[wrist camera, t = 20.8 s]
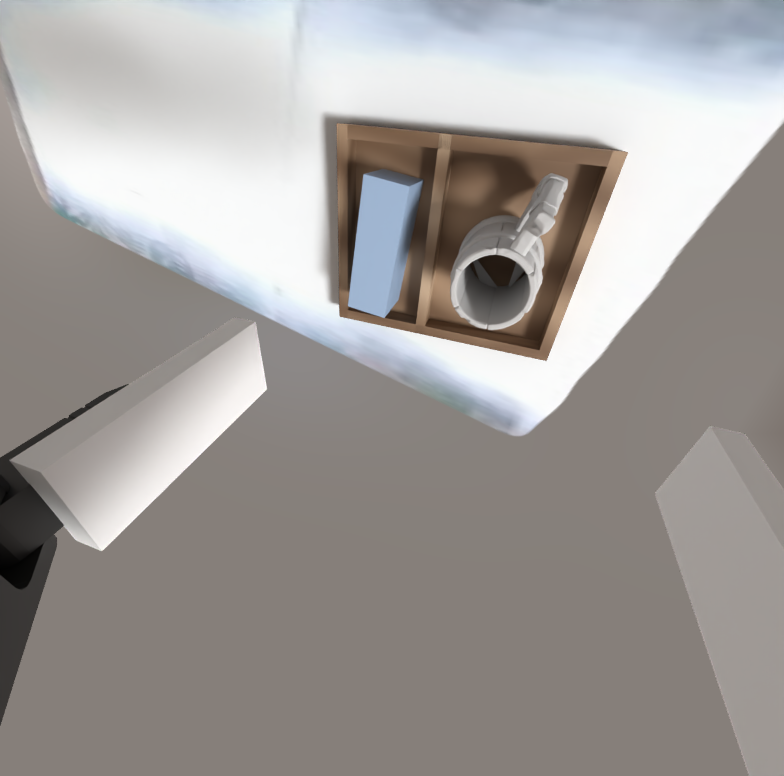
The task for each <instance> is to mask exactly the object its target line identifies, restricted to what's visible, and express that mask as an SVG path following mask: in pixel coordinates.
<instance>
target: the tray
mask: <svg viewBox="0 0 784 776" xmlns="http://www.w3.org/2000/svg"><path fill="white" fill-rule="evenodd" d="M627 154H628V152H625V151H619V150H609V149H599V148H589V147H579V146H569V145H559V144H549V143H538V142H528V141H518V140H508V139H498V138H488V137H478V136H468V135H458V134H447V133H437V132H427V131H417V130H407V129H397V128H387V127H377V126H367V125H357V124H341V123H337V181H338V246H339V311H340V317H344V318H349V319H354V320H358V321H363V322H368V323H372V324H377V325H382V326H386V327H391V328H396V329H400V330H405V331H410V332H414V333H419V334H424V335H428V336H433V337H438V338H442V339H447V340H452V341H456V342H461V343H466V344H470V345H475V346H480V347H484V348H489V349H493V350H498V351H503V352H507V353H512V354H517V355H521V356H526V357H531V358H535V359H540V360H545V361H547V358H548V356H549V353H550V350H551V348H552V345H553V343H554V340H555V338H556V335H557V333H558V330H559V327H560V325H561V322H562V320H563V317H564V315H565V312H566V310H567V307H568V304H569V302H570V299H571V297H572V294H573V292H574V289H575V287H576V284H577V281H578V279H579V276H580V274H581V271H582V269H583V266H584V264H585V261H586V258H587V256H588V253H589V251H590V248H591V246H592V243H593V241H594V238H595V235H596V233H597V230H598V228H599V225H600V223H601V220H602V218H603V215H604V212H605V210H606V207H607V205H608V202H609V200H610V197H611V194H612V192H613V189H614V187H615V184H616V182H617V179H618V177H619V174H620V171H621V169H622V166H623V164H624V161H625V159H626V156H627ZM380 169H386V170H390V171H393V172H397V173H401V174H405V175H408V176H412V177H416V178H419V179H423V180H424V182H423V187H422V192H421V196H420V201H419V206H418V210H417V215H416V220H415V224H414V229H413V234H412V239H411V243H410V248H409V253H408V257H407V262H406V267H405V271H404V276H403V281H402V286H401V290H400V295H399V300H398V301H397V302H396V304H395V305H394V306H393V307H392V309H391V310H390V311H389V313H388V314H387V315H386V316H385V318H383V317H379V316H376V315H373V314H370V313H367V312H364V311H361V310H358V309H355V308H352V307H349V306H348V301H349V292H350V284H351V276H352V267H353V259H354V251H355V242H356V234H357V225H358V217H359V209H360V200H361V192H362V184H363V175H364V174H366V173H369V172H373V171H377V170H380ZM550 173H553V174H556V175H559V176H562V177H565V178H567V179H568V186H567V189H566V191H565V192H564V194H563V195H564V197H563V200H562V202H561V203H560V206H559V209H558V212H557V214H556V216H555V215H554V219H555V224H554V225H553V227H552V228H551V229H550V230H549V231H548V232H547V233H546V234H543V235H541V236H540V237H541V240H542V243H543V247H544V266H543V268H542V276H543V279H542V284H541V285H540V288H539V290H538V292H537V294H536V297H535V300H534V303H533V305H532V307H531V308H530V310H529V311H528V312H527V313H524V316H523V317H522V318H521V319H520V320H519V321H518V322H516V323H515V324H513V325H511V326H509V327H506V328H502V329H497V330H488V329H483V328H478V327H476V326H474V325H472V324H470V323H469V322H468V321H467V320H466V319H465V318H461V317H460V316H459V314H458V313H457V312H456V310H455V307H453V305H452V302H451V297H450V285H451V277H450V275H451V271H452V269H453V265H454V263H455V260H456V258H457V256H458V254H459V249H460V246H461V244H462V242H463V240H464V238H465V237H466V235H467V234H468V233H469V231H470V230H471V229H472V228H473V227H475V226H476V225H477V224H478V223H480V222H481V221H482V220H484V219H488V218H490V217H493V216H498V215H511V216H516V217H519V218H521V216H522V214H523V213H524V211H525V209H526V208H527V206H528V204H529V202H530V201H531V197H532V195H533V193H534V191H535V189H536V187H537V186H538V184H539V183H540V181H541V180H542V179H543V178H544V177H545V176H547V175H548V174H550ZM477 260H478V261H479V262H480V264H481V265H482V267H483V268H484V269H485V271H486V272H487V273H488V275H489V276H490V277H491V279H492V280H493V282H494V283H495V284H496V286H507V285H509V283H510V280H511V277H512V274H513V271H514V268H515V265H516V262H515V261H514V260H512V259H510V258H508V257H505V256H501V255H497V254H495V255H488V256H484V257H481V258H479V259H477ZM470 266H471V269H472V271H473V272H474V274H475V276H476V277H477V278H478V275H477V272H476V269H475V266H474V263H473V262H471V263H470ZM524 274H526V272H525V271H524V272H523V273H522V274H521V275H520V277H519V278H518V279H517V280H516V281H518V280H519V279H521V278H522V277H523V276H524ZM478 279H479V278H478ZM516 281H515V282H516ZM515 282H514V283H515Z"/></svg>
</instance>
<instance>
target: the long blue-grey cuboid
mask: <svg viewBox="0 0 784 776" xmlns="http://www.w3.org/2000/svg"><path fill="white" fill-rule="evenodd" d="M423 182H424V180H423V179H419V178H416V177H412V176H408V175H405V174H401V173H397V172H393V171H390V170H386V169H380V170H377V171H373V172H369V173H366V174H364V175H363V184H362V192H361V200H360V209H359V217H358V225H357V234H356V242H355V251H354V259H353V267H352V276H351V284H350V292H349V301H348V306H349V307H352V308H355V309H358V310H361V311H364V312H367V313H370V314H373V315H376V316H379V317H383V318H385V316H386V315H387V314H388V313H389V311H390V310H391V309H392V307H393V306H394V305H395V304H396V302H397V301H398V300H399V295H400V290H401V286H402V281H403V276H404V271H405V267H406V262H407V257H408V253H409V248H410V243H411V239H412V234H413V229H414V224H415V220H416V215H417V210H418V206H419V201H420V196H421V192H422V187H423Z"/></svg>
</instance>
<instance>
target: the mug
mask: <svg viewBox="0 0 784 776" xmlns="http://www.w3.org/2000/svg"><path fill="white" fill-rule="evenodd" d="M567 186H568V179H567V178H565V177H562V176H559V175H556V174H553V173H550V174H548V175H547V176H545V177H544V178H543V179H542V180H541V181H540V183H539V184H538V186H537V187H536V189H535V191H534V193H533V195H532V197H531V201H530V202H529V204H528V206H527V208H526V209H525V211H524V213H523V214H522V216H521V218H519V217H516V216H511V215H498V216H493V217H490V218H488V219H484V220H482V221H481V222H480V223H478V224H477V225H476V226H475V227H473V228H472V229H471V230H470V231H469V233H468V234H467V235H466V237H465V238H464V240H463V242H462V244H461V246H460V249H459V254H458V256H457V258H456V260H455V263H454V265H453V269H452V271H451V275H450V277H451V285H450V297H451V302H452V305H453V307H455V310H456V312H457V313H458V314H459V316H460V317H461V318H465V319H466V320H467V321H468V322H469V323H470V324H472V325H474V326H476V327H478V328H483V329H488V330H497V329H502V328H506V327H509V326H511V325H513V324H515V323H516V322H518V321H519V320H520V319H521V318H522V317H523V316H524V313H527V312H528V311H529V310H530V308H531V307H532V305H533V303H534V300H535V297H536V294H537V292H538V290H539V288H540V285H541V284H542V279H543V276H542V268H543V266H544V247H543V243H542V240H541V237H540V236H541V235H543V234H546V233H547V232H548V231H549V230H550V229H551V228H552V227H553V225H554V224H555V219H554V215H555V216H556V214H557V212H558V209H559V206H560V203H561V202H562V200H563V197H564V195H563V194H564V192H565V191H566V189H567ZM495 254H497V255H501V256H505V257H508V258H510V259H512V260H514V261H515V262H516V265H515V268H514V271H513V274H512V277H511V280H510V283H509V285H507V286H496V284H495V283H494V282H493V280H492V279H491V277H490V276H489V275H488V273H487V272H486V271H485V269H484V268H483V267H482V265H481V264H480V262H479V261H478V260H477V259H479V258H481V257H484V256H488V255H495ZM471 262H473V263H474V266H475V269H476V272H477V275H478V278H479V279H478V278H477V277H476V276H475V274H474V272H473V271H472V269H471V266H470V263H471ZM524 271H525V272H526V274H524V276H523V277H522V278H521V279H519V280H518V281H516V280H517V279H518V278H519V277H520V275H521V274H522V273H523V272H524ZM515 281H516V282H515ZM514 282H515V283H514Z"/></svg>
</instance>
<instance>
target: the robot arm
mask: <svg viewBox="0 0 784 776" xmlns="http://www.w3.org/2000/svg"><path fill="white" fill-rule="evenodd" d="M266 389H267V387H266V380H265V375H264V369H263V363H262V357H261V352H260V345H259V339H258V333H257V327H256V322H255V321H250V320H246V319H242V318H237V317H235V318H233V319H231V320H230V321H228V322H227V323H225V324H223V325H222V326H220V327H219V328H217V329H215V330H214V331H212V332H211V333H209V334H208V335H206V336H205V337H203V338H201V339H200V340H198V341H197V342H195V343H193V344H192V345H190V346H189V347H187V348H186V349H184V350H183V351H181V352H179V353H178V354H176V355H175V356H173V357H171V358H170V359H168V360H167V361H165V362H164V363H162V364H160V365H159V366H157V367H156V368H154V369H152V370H151V371H149V372H148V373H146V374H145V375H143V376H141V377H140V378H138V379H137V380H135V381H134V382H132V383H131V384H127V385H125V386H122V387H119V388H117V389H114V390H111V391H109V392H106V393H104V394H103V395H101V396H99V397H98V398H96V399H94V400H93V401H91V402H90V403H88V404H86V405H85V408H80V409H78V410H77V411H75V412H73V413H72V414H71V415H69V417H68V418H67V419H66V418H64V419H62V420H60V421H59V422H57V423H56V424H54V425H53V426H51V427H49V428H48V429H46V430H44V431H43V432H41V433H40V434H38V435H36V436H35V437H33V438H31V439H30V440H28V441H27V442H25V443H23V444H22V445H20V446H18V447H17V448H16V449H14V450H12V451H10V452H9V453H7V454H6V455H4V456H2V457H1V458H0V725H1V722H2V718H3V715H4V712H5V709H6V706H7V703H8V699H9V696H10V693H11V690H12V687H13V684H14V680H15V677H16V674H17V671H18V667H19V665H20V661H21V658H22V655H23V652H24V649H25V645H26V642H27V639H28V636H29V633H30V630H31V627H32V623H33V620H34V617H35V614H36V610H37V608H38V604H39V601H40V598H41V595H42V592H43V589H44V585H45V582H46V579H47V576H48V573H49V569H50V566H51V563H52V560H53V557H54V554H55V551H56V547H57V538H56V537H55V535H54V534H55V533H56V532H57V531H58V530H59V529H61V528H62V527H63V526H65V528H66V529H67V530H68V531H69V533H70V534H71V535H72V536H73V538H74V539H75V540H76V541H79V542H81V543H83V544H86V545H89V546H91V547H93V548H96V549H98V550H100V551H102V550H103V549H105V547H106V546H108V545H109V544H110V543H111V542H112V541H113V540H114V539H115V538H116V537H117V536H118V535H119V534H120V533H121V532H122V531H123V530H124V529H125V528H126V527H127V526H128V525H129V524H130V523H131V522H132V521H133V520H134V519H135V518H136V517H137V516H138V515H139V514H140V513H141V512H142V511H143V510H144V509H145V508H146V507H147V506H148V505H149V504H150V503H151V502H152V501H153V500H154V499H155V498H156V497H157V496H158V495H159V494H161V493H162V491H164V490H165V489H166V488H167V487H168V486H169V485H170V484H171V483H172V482H173V481H174V480H175V479H176V478H177V477H178V476H179V475H180V474H181V473H182V472H183V471H184V470H185V469H186V468H187V467H188V466H189V465H190V464H191V463H192V462H193V461H194V460H195V459H196V458H197V457H198V456H199V455H200V454H201V453H202V452H203V451H204V450H205V449H206V448H207V447H208V446H209V445H210V444H211V443H213V442H214V440H216V439H217V438H218V437H219V436H220V435H221V434H222V433H223V432H224V431H225V430H226V429H227V428H228V427H229V426H230V425H231V424H232V423H233V422H234V421H235V420H236V419H237V418H238V417H239V416H240V415H241V414H242V413H243V412H244V411H245V410H246V409H247V408H248V407H249V406H250V405H251V404H252V403H253V402H254V401H255V400H256V399H257V398H258V397H259V396H260V395H261V394H262V393H263V392H264V391H265V390H266ZM655 496H656V499H657V502H658V505H659V508H660V511H661V514H662V517H663V520H664V523H665V526H666V529H667V532H668V535H669V538H670V541H671V544H672V547H673V550H674V553H675V556H676V559H677V562H678V565H679V568H680V571H681V574H682V577H683V580H684V583H685V586H686V589H687V592H688V595H689V597H690V601H691V604H692V607H693V610H694V613H695V616H696V619H697V622H698V625H699V628H700V631H701V634H702V637H703V640H704V643H705V646H706V649H707V652H708V655H709V658H710V661H711V664H712V667H713V670H714V673H715V676H716V679H717V682H718V685H719V688H720V691H721V693H722V697H723V700H724V703H725V706H726V709H727V711H728V715H729V718H730V721H731V724H732V727H733V730H734V732H735V735H736V738H737V742H738V745H739V748H740V751H741V754H742V757H743V760H744V763H745V766H746V769H747V772H748V775H749V776H784V489H783V488H782V487H781V485H780V484H779V482H778V481H777V479H776V478H775V477H774V475H773V474H772V472H771V471H770V469H769V468H768V466H767V465H766V464H765V462H764V461H763V459H762V458H761V456H760V455H759V453H758V452H757V451H756V449H755V448H754V446H753V445H752V443H751V442H750V441H749V439H748V438H747V436H746V435H745V434H743V433H739V432H735V431H730V430H726V429H721V428H717V427H712V426H710V427H709V428H708V429H707V430H706V432H705V433H704V434H703V435H702V437H701V438H700V439H699V440H698V441H697V443H696V444H695V445H694V446H693V447H692V449H691V450H690V451H689V453H688V454H687V455H686V456H685V457H684V458H683V460H682V461H681V462H680V463H679V465H678V466H677V467H676V468H675V469H674V471H673V472H672V473H671V474H670V476H669V477H668V478H667V479H666V481H665V482H664V483H663V484H662V485H661V487H660V488H659V489H658V490H657V491H656V493H655Z"/></svg>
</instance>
